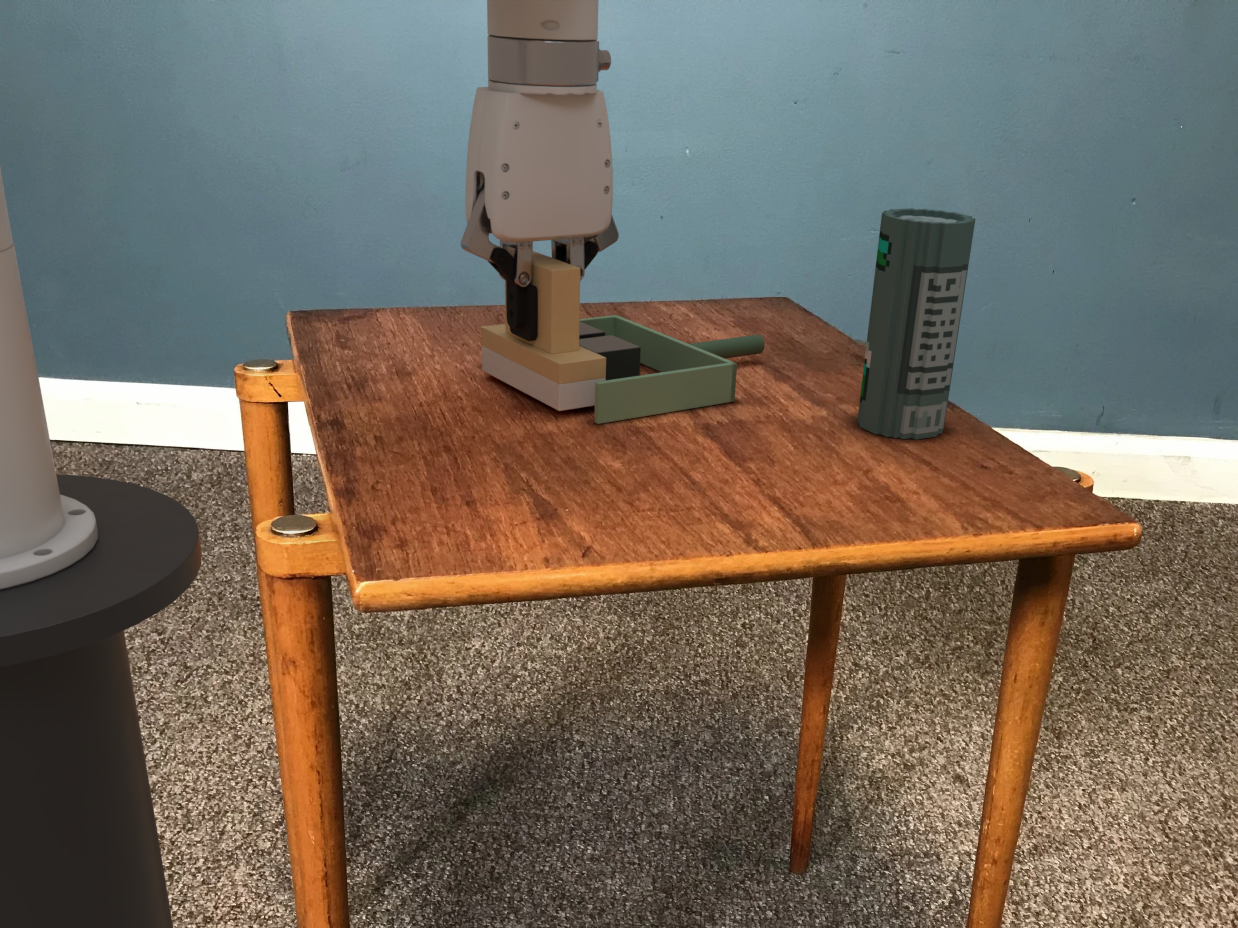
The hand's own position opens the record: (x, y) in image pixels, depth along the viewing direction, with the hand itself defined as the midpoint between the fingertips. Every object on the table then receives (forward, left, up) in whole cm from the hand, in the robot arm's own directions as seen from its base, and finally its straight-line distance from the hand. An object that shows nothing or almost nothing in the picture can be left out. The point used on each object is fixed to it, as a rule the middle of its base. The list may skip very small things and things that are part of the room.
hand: (541, 332), depth 98 cm
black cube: (+4, -2, -5) cm, 7 cm away
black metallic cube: (+4, +2, -5) cm, 7 cm away
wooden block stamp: (0, 0, -4) cm, 4 cm away
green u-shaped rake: (+10, 0, -5) cm, 12 cm away
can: (+20, -19, -5) cm, 28 cm away
